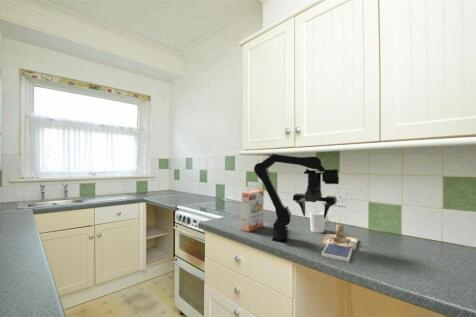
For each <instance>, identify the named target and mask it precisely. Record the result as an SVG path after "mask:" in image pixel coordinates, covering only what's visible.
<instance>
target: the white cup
mask: <svg viewBox="0 0 476 317" xmlns="http://www.w3.org/2000/svg"><path fill="white" fill-rule="evenodd" d="M325 220H326V218H325V219H324V211H320V210H311V211H309V223H310V224H309V225H310V231H311V232H312V233H316V234H323V233H324V231H325V223H326V221H325Z"/></svg>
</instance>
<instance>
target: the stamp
mask: <svg viewBox="0 0 476 317" xmlns="http://www.w3.org/2000/svg"><path fill="white" fill-rule="evenodd" d="M333 235H334V236H333V240H334V241H337V242H342V243H345V241H346V237H347V235H344V225H342V224H336V225H335V234H333Z"/></svg>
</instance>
